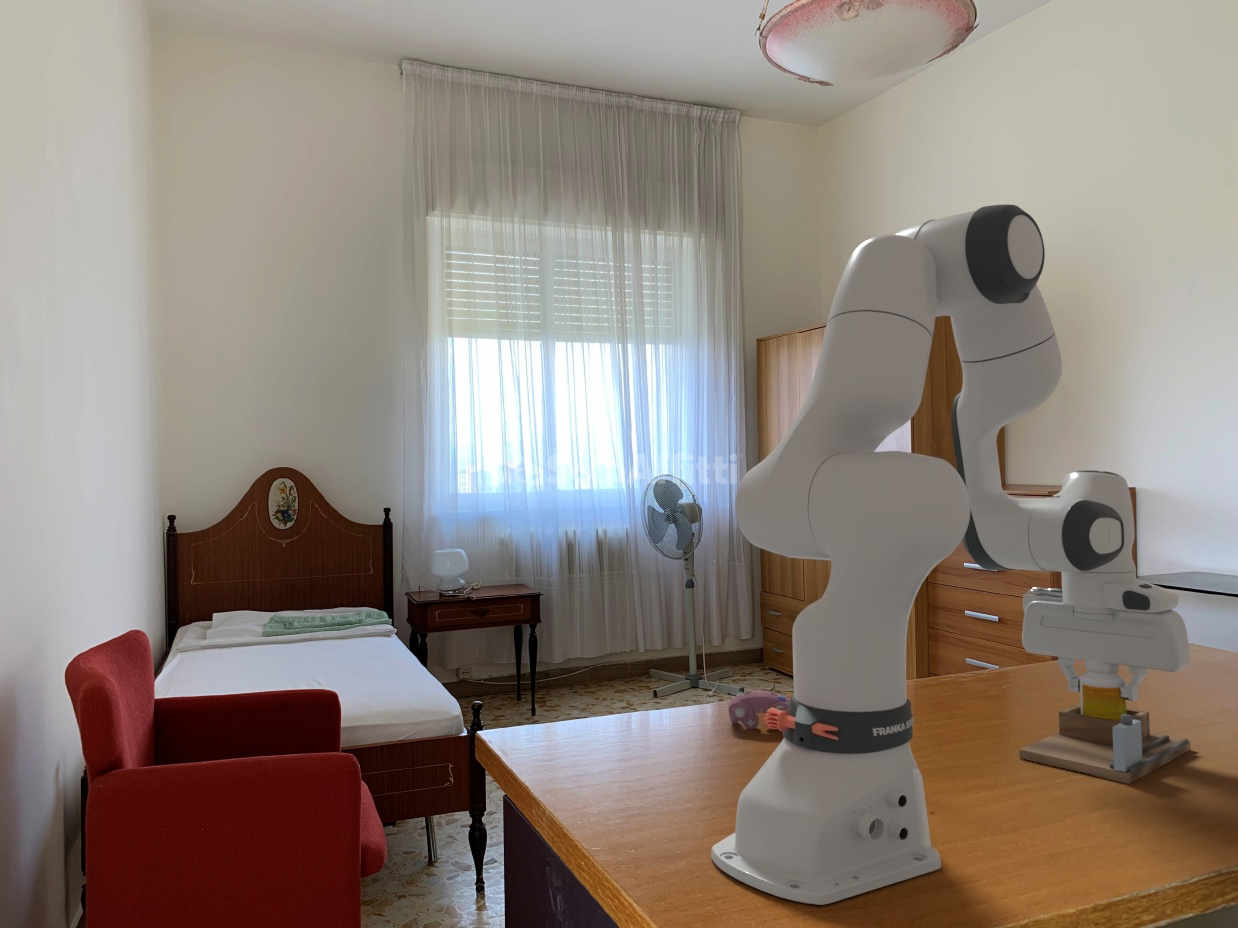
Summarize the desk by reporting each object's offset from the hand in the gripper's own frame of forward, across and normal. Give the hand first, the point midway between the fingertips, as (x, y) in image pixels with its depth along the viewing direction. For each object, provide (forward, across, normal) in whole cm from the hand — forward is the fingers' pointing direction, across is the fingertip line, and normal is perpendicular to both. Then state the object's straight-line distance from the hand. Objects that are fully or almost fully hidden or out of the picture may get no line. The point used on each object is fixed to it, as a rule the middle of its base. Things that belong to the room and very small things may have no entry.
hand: (1102, 695), depth 118 cm
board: (+6, +2, -4) cm, 8 cm away
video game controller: (+7, -37, -27) cm, 46 cm away
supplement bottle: (+5, 0, 0) cm, 5 cm away
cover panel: (+5, +8, -11) cm, 15 cm away
